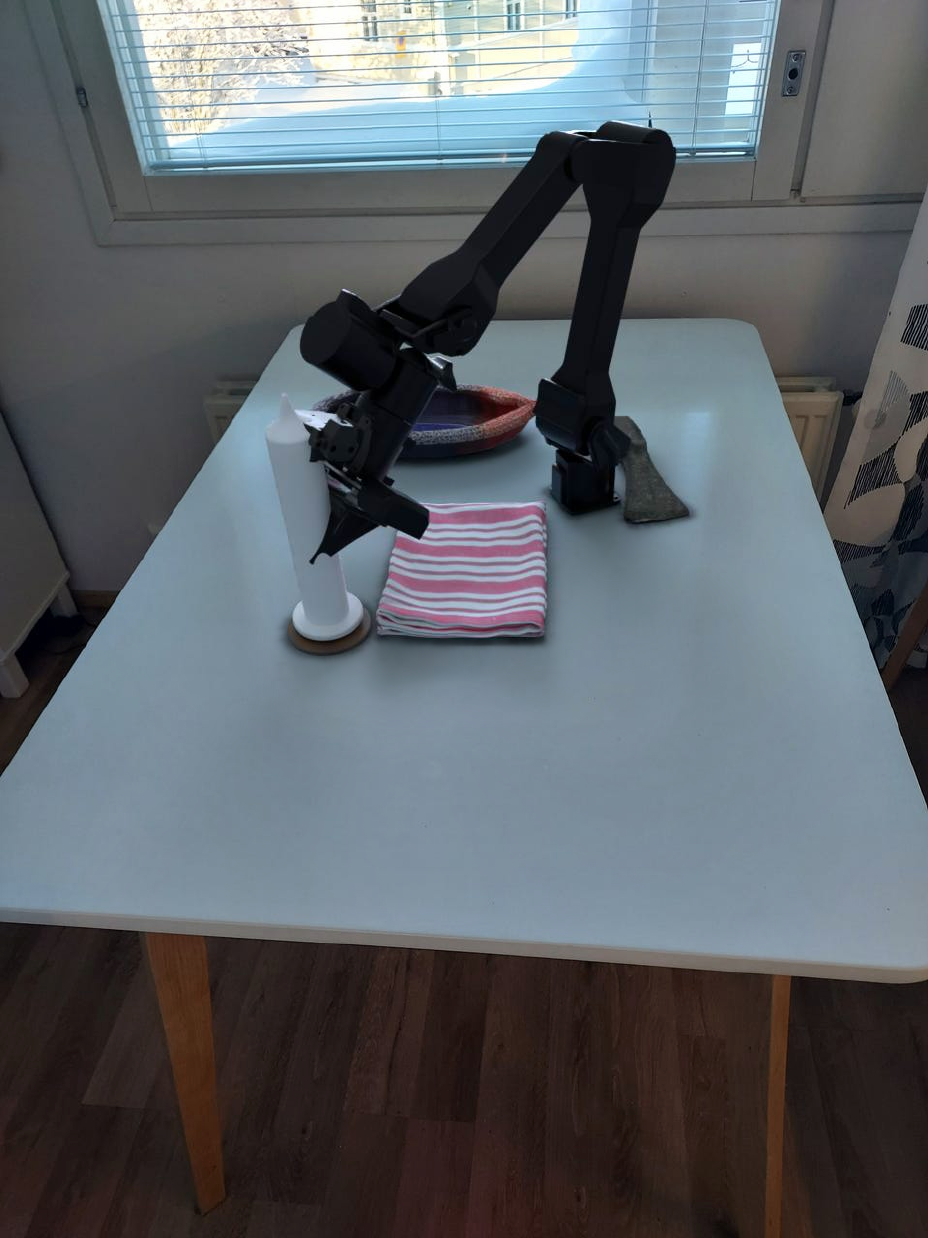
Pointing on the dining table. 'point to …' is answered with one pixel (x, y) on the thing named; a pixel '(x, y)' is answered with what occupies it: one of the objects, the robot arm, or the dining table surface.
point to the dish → (458, 419)
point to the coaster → (331, 645)
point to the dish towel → (469, 574)
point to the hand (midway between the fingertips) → (305, 557)
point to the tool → (645, 481)
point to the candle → (309, 530)
